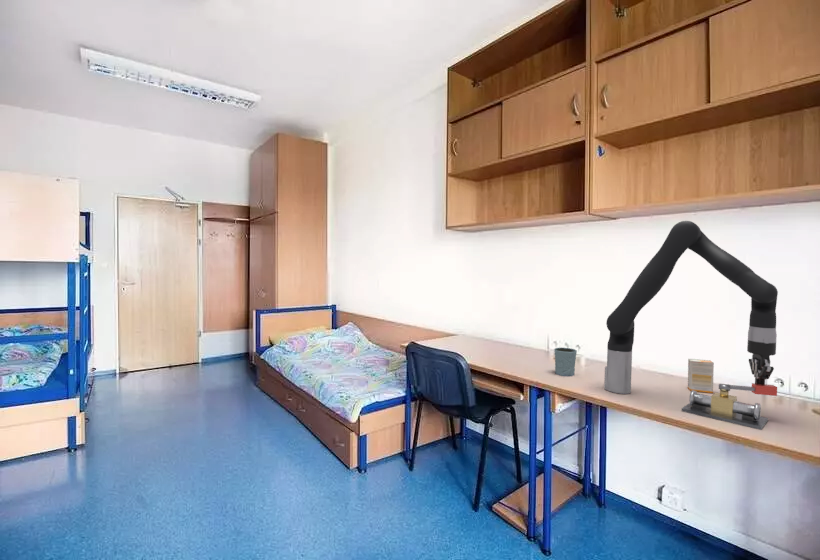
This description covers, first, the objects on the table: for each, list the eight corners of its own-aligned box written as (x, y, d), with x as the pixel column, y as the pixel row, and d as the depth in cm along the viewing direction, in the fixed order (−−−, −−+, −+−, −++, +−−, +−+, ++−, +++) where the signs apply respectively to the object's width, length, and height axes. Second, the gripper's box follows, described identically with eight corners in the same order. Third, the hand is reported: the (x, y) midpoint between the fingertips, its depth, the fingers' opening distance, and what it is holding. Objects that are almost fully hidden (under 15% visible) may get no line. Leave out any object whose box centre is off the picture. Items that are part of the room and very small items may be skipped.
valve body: (681, 411, 147) (682, 386, 147) (691, 404, 155) (692, 380, 155) (761, 429, 131) (762, 401, 130) (767, 421, 139) (768, 394, 138)
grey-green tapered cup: (572, 372, 202) (573, 347, 202) (578, 377, 192) (579, 352, 192) (551, 371, 203) (552, 347, 203) (556, 376, 193) (557, 351, 193)
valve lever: (720, 391, 142) (721, 382, 141) (716, 388, 145) (717, 380, 145) (777, 396, 137) (777, 387, 137) (772, 393, 140) (772, 384, 140)
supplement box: (710, 390, 174) (711, 360, 173) (713, 393, 169) (714, 362, 169) (687, 388, 177) (688, 358, 177) (689, 391, 173) (690, 360, 172)
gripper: (740, 336, 149) (738, 382, 150) (757, 342, 137) (754, 393, 138) (766, 337, 147) (763, 385, 147) (785, 344, 134) (782, 396, 135)
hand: (759, 389), depth 142 cm, fingers closed
